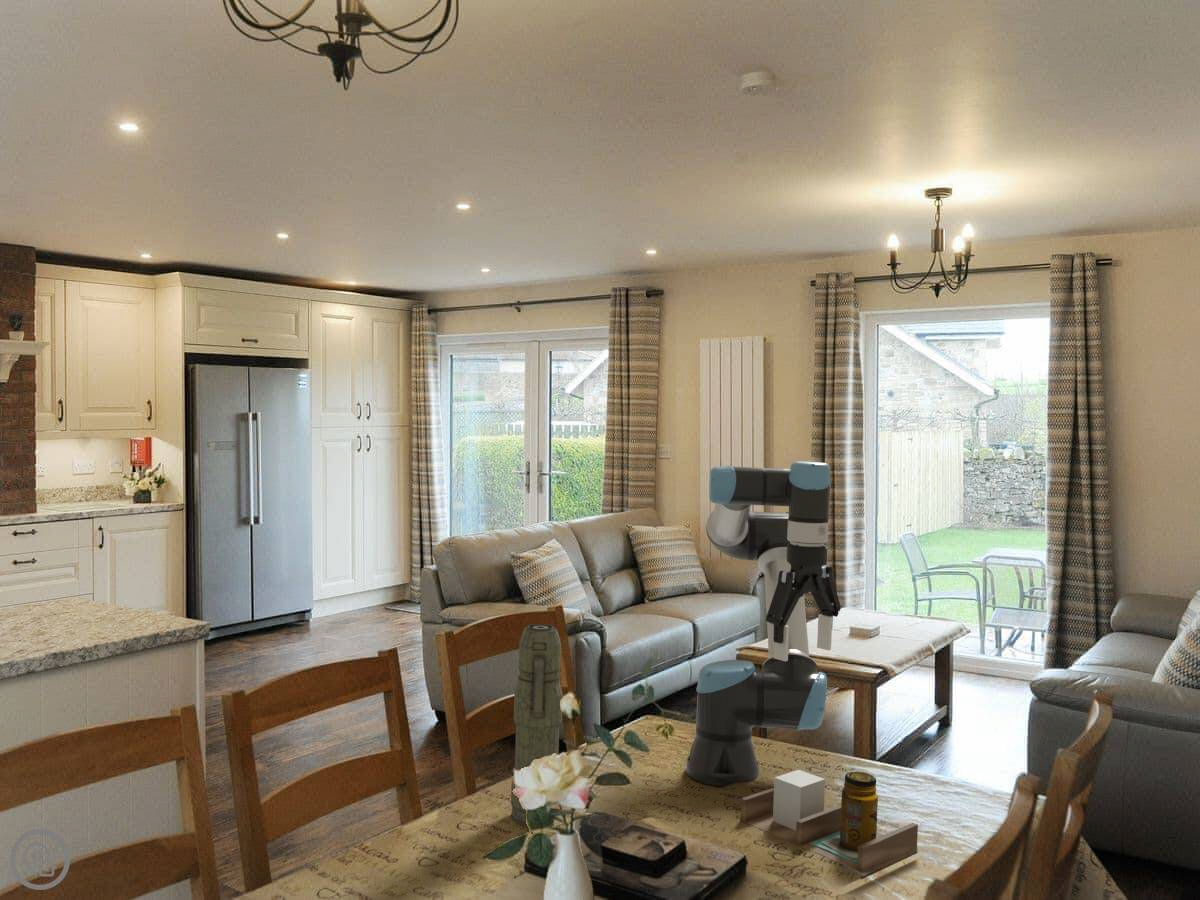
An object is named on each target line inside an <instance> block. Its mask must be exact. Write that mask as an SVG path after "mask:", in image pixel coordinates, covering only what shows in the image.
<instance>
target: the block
mask: <svg viewBox="0 0 1200 900" xmlns="http://www.w3.org/2000/svg"><path fill="white" fill-rule="evenodd" d="M825 784H826V778H823V777H820V776H817V775H815V774H812V773H809V772H806V771H804V770H800V769H796V770H793V771H790V772H788V773H783V774H781V775H777V776H774V778H773V788H774V802H773V821H774V822H776V823H779V824H781V825H783V826H786V827H788V828H791V829H793V830H795V831H796V822H797V821H798V820H800V819H803V818H806V817H808V816H811V815H814V814H816V813H819V812H822V811H824V810H825V792H826V791H825V789H826V785H825Z"/></svg>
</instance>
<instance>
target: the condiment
mask: <svg viewBox="0 0 1200 900" xmlns="http://www.w3.org/2000/svg"><path fill="white" fill-rule="evenodd" d="M878 798H879V795H878V793H877V779H876V776H874V775H872V774H871V773H868V772H862V771H849V772H847V773H846V774H845V775H844V782H843V789H842V790H841V825H840V837H834V838H832V839H829V840H824V841H821V842H822V843H824V844H825V845H827V846H829V847H831V848H832V849H834V850H836V851H838V852H839V853H843V854H845V855H846V856H849V857H851V858H853V859H855V858H857V857H858V846H860V845H862V844H864V843H867V842H869V841H871V840H874V839H876V835H877V832H878V831H877V829H878V803H879V799H878Z"/></svg>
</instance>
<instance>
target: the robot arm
mask: <svg viewBox="0 0 1200 900" xmlns="http://www.w3.org/2000/svg"><path fill="white" fill-rule="evenodd" d="M831 485H832V479H831V467H830V465H829V464H828V463H826V462H819V461H794V462H792V463H791V464H790V468H779V467H777V468H775V467H751V466H750V467H749V466H748V467H747V466H732V465H726V466H714V467H712V468H710V473H709V487H708V488H709V491H708V493H709V494H708V496H709V501H710V503H712V504H714V508H713V511H712V512H711V513H710V514H709V515H708V517H707V520H706V525H705V529H706V530H705V531H706V536H707V538H708V540H709V541H710V543H711V545H712V546H713V547H715V549H717V551H719V552H721V553H722V554H724V555H726V556H728V557H730V558H733V559H737V560H741V561H742V560H743V561H756V563H757V568H758V569H759V571H761V573H763V574H764V587H765V607H766V608H765V610H766V611H765V612H766V617H765V621H766V628H767V630H766V631H767V650H768V658H767V659H766V660H764V661H763V663H762V665H761V666H762V667H761V669H756V666H755V664H754V663H753V662H751V661H749V660H742V659H726V660H718V661H714V662H711V663H708V664H705V665H704V666H702V668H700V669H699V672H698V677H697V685H696V692H697V697H696V700H697V702H696V720H695V721H696V723H695V725H696V726H695V729H696V730H695V737H694V740H693V742H692V746H691V749H690V751H689V754H688V755H689V756H688V757H687V759H686V765H685V766H686V768H685V770H686V771H685V772H686V775H687V776H688V777H689V778H691V779H692V780H695V781H696V782H699V783H701V784H706V785H708V786H715V787H728V786H731V785H733V784H738V783H739V784H740V783H746V782H747V783H748V782H750V781H752V780H755V779H756V778H758V777H759V776H760V765H759V762H758V761H757V756H756V751H755V749H754V748H755V747H754V743H753V728H765V729H766V728H767V729H768V728H769V729H786V730H797V731H802V730H816V729H818V728H819V727H820V726H821V725H822V723H823V719H824V714H825V709H826V703H827V702H826V701H827V691H828V690H827V689H828V677H827V674H826V673H824V672H822V671H819V672H818V665H817V662H816V660H814V659H813V658H812V657H810V651H809V650H810V649H809V638H808V628H807V627H808V625H807V616H806V615H807V614H806V603H805V594H809V593H811V595H812V597H813V599H814V600H815V603H816V605H817V606H818V609H819V610H820V613H821V614H818V615H817V616H818V619H817V642H816V648H817V649H821V650H824V651H825V650H826V651H832V635H833V634H832V633H833V620H834V618H833V617H838V616H839V614H840V613H839V612H840V611H841V607H842V606H841V603H840V600H839V596H838V592H837V589H836V585H835V582H834V578H833V577H834V576H833V566H830V565H827V563H828V547H827V545H826V543H828V539H829V537H828V536H829V533H828V532H829V517H830V515H829V512H830V493H831ZM752 506H768V507H769V506H771V507H773V506H774V507H788V511H787V512H772V511H771V512H770V511H751V509H752Z"/></svg>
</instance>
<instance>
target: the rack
mask: <svg viewBox="0 0 1200 900" xmlns="http://www.w3.org/2000/svg"><path fill="white" fill-rule="evenodd" d="M773 802H774V787H771V788H769V789H765V790H763V791H760V792H757V793H754V794H751V795H748V796H745V797H742V798H741V800H740V804H741V805H740V821H741V822H744V823H746V824H748V825H750V826H752V827H754V828H757V829H760V830H762V831H763V832H767V833H769V834H771V835H773V836H776V837H778V838H781V839H783V840H784V841H788V842H790V843H792V844H794V845H796V846H799V847H801V848H803V849H806V850H807V851H811V852H813V853H815V854H817V855H820V856H822V857H824V858H827V859H829V860H831V861H834V862H836V863H839V864H841V865H843V866H845V867H848V868H849V869H852V870H854V871H856V872H859V873H861V874H864V873H866V872H868V871H870V870H873V869H875V868H877V867H879V866H881V865H883V864H885V863H887V862H890V861H892V860H894V859H896V858H898V857H901V856H903V855H905V854H907V853H909V852H911V851H914V850H916V849H917V848H918V831H919V828H918V827H919V824H917V823H915V822H911V823H908V824H906V825H904V826H901V827H899V828H897V829H895V830H893V831H890V832H888V833H885V834H884V833H881V832H878V831H877V835H876V839H874V840H871V841H869V842H867V843H864V844H862V845H860V846H858V857H857V858H855V859H853V858H851V857H849V856H846V855H845V854H843V853H839V852H838V851H836V850H834V849H832V848H831V847H829V846H827V845H825V844H824V843H822V842H821V841H824V840H829V839H832V838H834V837H840V825H841V804H838V805H836V806H833V807H830V808H827V809H824V811H822V812H819V813H816V814H814V815H811V816H808V817H806V818H803V819H800V820H798V821H797V822H796V831H795V830H793V829H791V828H788V827H786V826H783V825H781V824H779V823H776V822H774V821H773ZM917 854H918V851H915V852H913V853H910V854H909V855H905V856H904V857H902V858H900V859H898V860H895V861H893V862H891V863H889V864H887V865H884V866H883V867H880V868H878V869H876V870H874V871H872V872H868V874H865V875H862V876H861V877H860V879H861V880H863V879H865V878H867V876H868V877H870V876H871V875H874V874H875V873H877V872H880V871H883V870H884V869H887V868H888V867H891V866H893V865H895V864H897V863H900V862H903V860H906V859H908V858H910V857H912V856H914V855H917Z"/></svg>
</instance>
